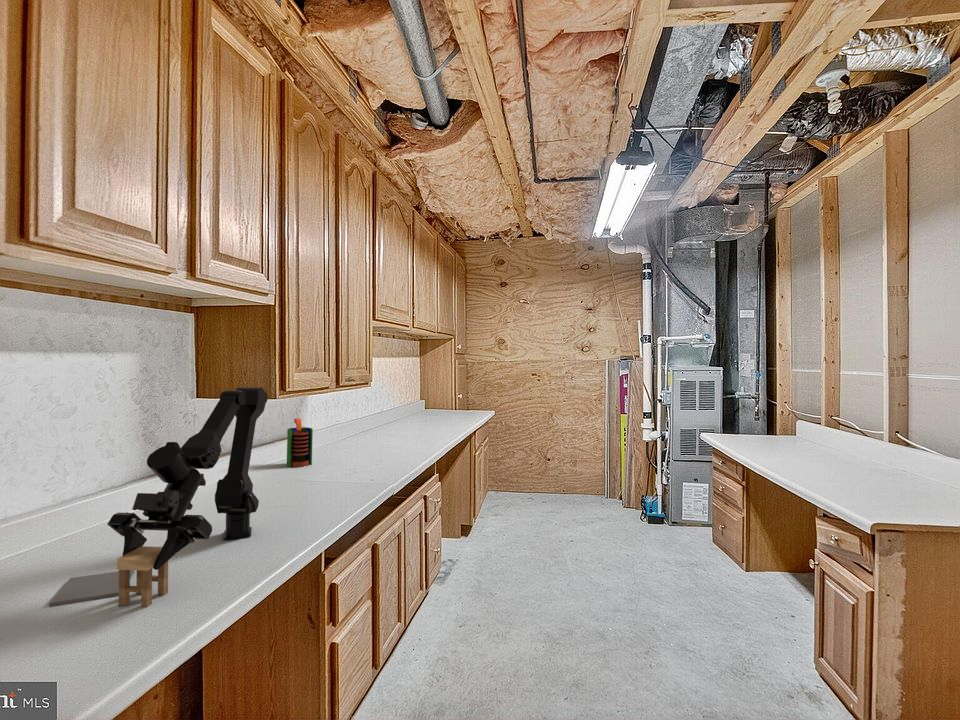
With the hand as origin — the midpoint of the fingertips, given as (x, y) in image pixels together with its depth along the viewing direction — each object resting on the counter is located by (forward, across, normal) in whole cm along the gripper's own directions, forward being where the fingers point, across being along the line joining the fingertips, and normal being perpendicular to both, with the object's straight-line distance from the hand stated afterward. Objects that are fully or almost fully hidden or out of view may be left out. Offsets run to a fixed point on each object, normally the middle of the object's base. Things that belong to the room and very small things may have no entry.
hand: (138, 568), depth 92 cm
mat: (+1, -13, +8) cm, 15 cm away
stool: (+4, 0, +6) cm, 7 cm away
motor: (-75, -18, +85) cm, 115 cm away
